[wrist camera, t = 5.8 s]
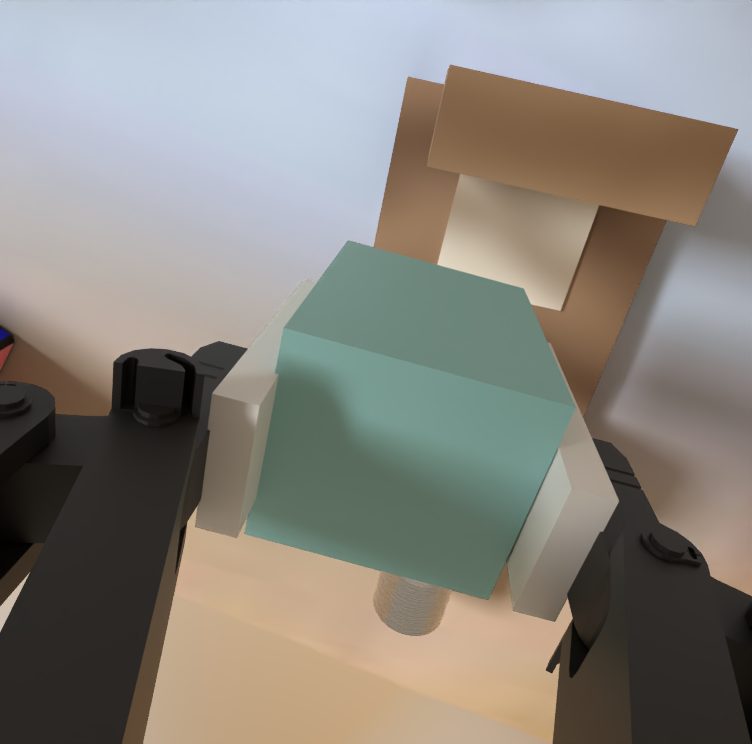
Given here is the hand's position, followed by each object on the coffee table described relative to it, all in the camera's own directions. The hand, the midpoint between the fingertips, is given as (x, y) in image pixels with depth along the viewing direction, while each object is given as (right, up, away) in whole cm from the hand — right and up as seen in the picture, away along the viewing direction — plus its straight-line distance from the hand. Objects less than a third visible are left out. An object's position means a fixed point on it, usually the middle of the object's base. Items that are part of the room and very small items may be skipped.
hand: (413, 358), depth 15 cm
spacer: (0, +1, +2) cm, 2 cm away
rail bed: (+4, +1, +14) cm, 15 cm away
